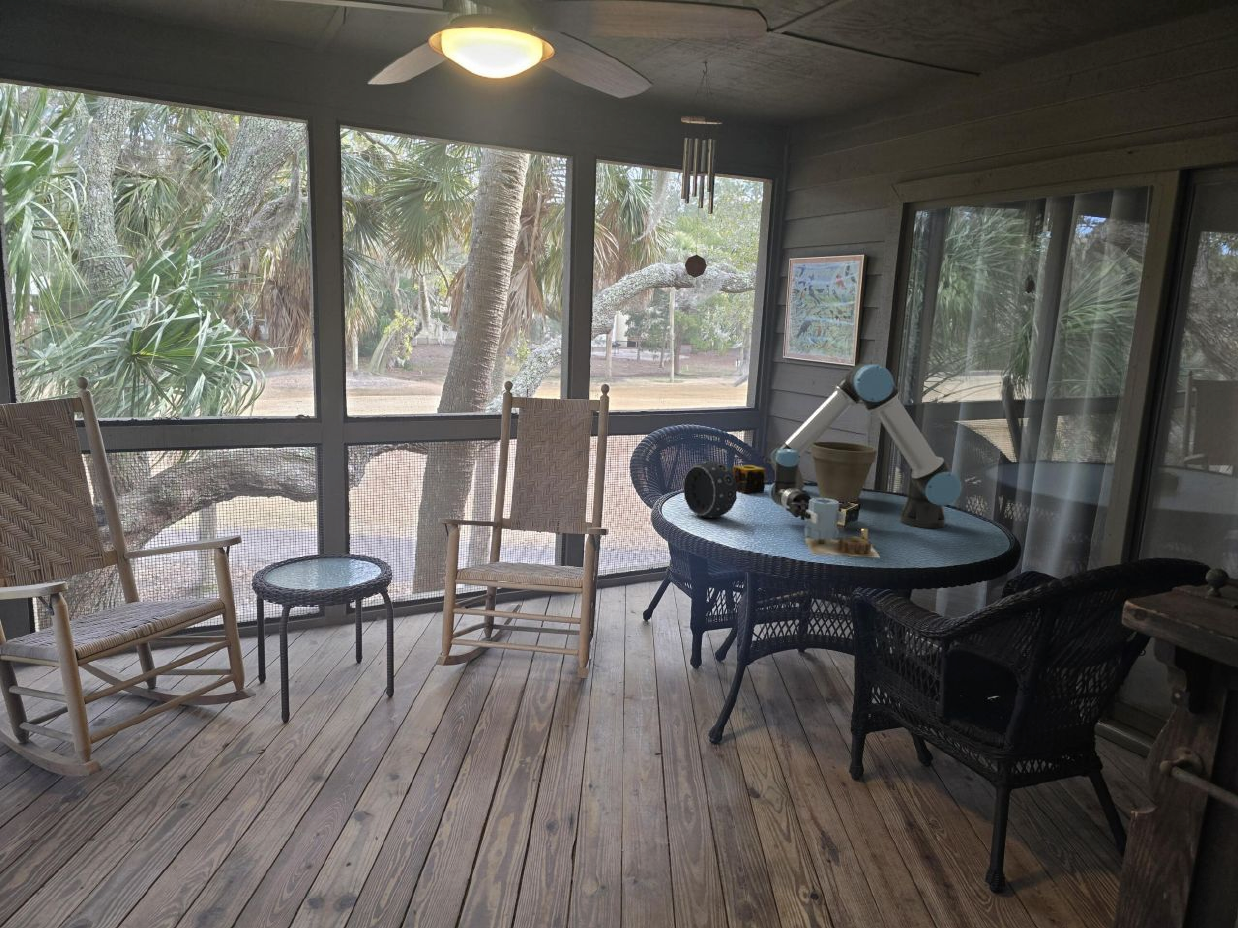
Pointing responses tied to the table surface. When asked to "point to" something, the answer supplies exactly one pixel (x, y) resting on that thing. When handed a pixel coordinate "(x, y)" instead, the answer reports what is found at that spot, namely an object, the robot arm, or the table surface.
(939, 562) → the table surface
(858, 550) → the fixed gear
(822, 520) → the blue gear
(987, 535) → the table surface
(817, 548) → the gear board
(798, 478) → the coffee pot
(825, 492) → the plant pot
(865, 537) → the far peg
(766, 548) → the table surface
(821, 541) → the peg
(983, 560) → the table surface
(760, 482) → the candle
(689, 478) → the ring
